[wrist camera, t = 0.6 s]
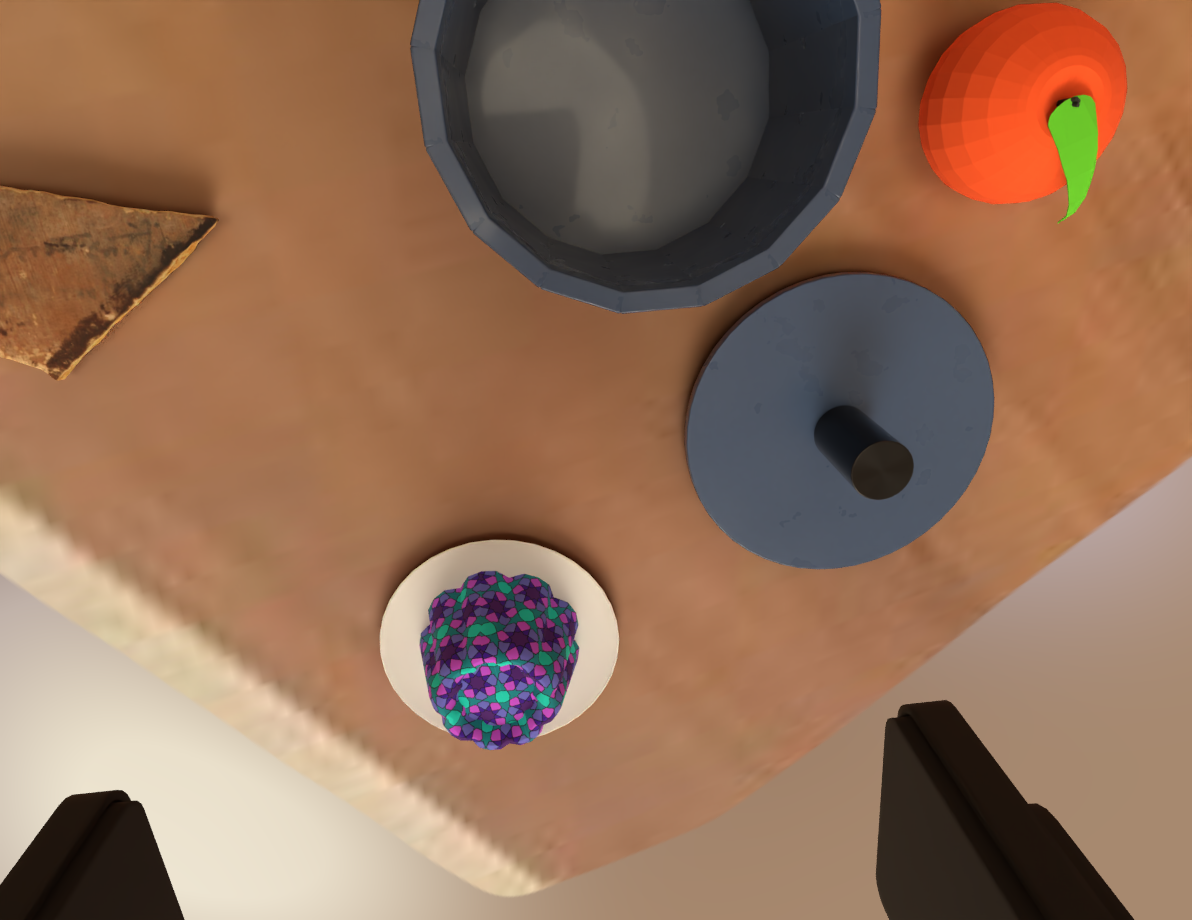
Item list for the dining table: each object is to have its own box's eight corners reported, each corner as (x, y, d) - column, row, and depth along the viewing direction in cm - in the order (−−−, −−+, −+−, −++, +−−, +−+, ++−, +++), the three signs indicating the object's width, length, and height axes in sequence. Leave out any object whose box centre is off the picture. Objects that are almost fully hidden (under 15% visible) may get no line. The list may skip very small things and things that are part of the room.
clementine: (1074, 177, 35) (1200, 184, 28) (923, 249, 35) (1011, 273, 29) (1031, -16, 32) (1160, -58, 25) (867, 66, 32) (951, 46, 26)
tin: (600, -190, 29) (629, -351, 20) (849, 78, 33) (974, 51, 23) (382, 118, 32) (318, 105, 23) (633, 329, 36) (666, 394, 26)
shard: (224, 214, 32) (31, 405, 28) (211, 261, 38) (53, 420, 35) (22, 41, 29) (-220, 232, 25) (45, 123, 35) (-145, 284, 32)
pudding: (592, 510, 39) (600, 562, 34) (636, 707, 43) (648, 777, 38) (351, 560, 39) (324, 619, 34) (419, 751, 43) (404, 828, 38)
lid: (839, 199, 34) (897, 209, 29) (1041, 403, 38) (1127, 446, 33) (619, 444, 38) (633, 496, 32) (826, 607, 42) (871, 678, 36)
